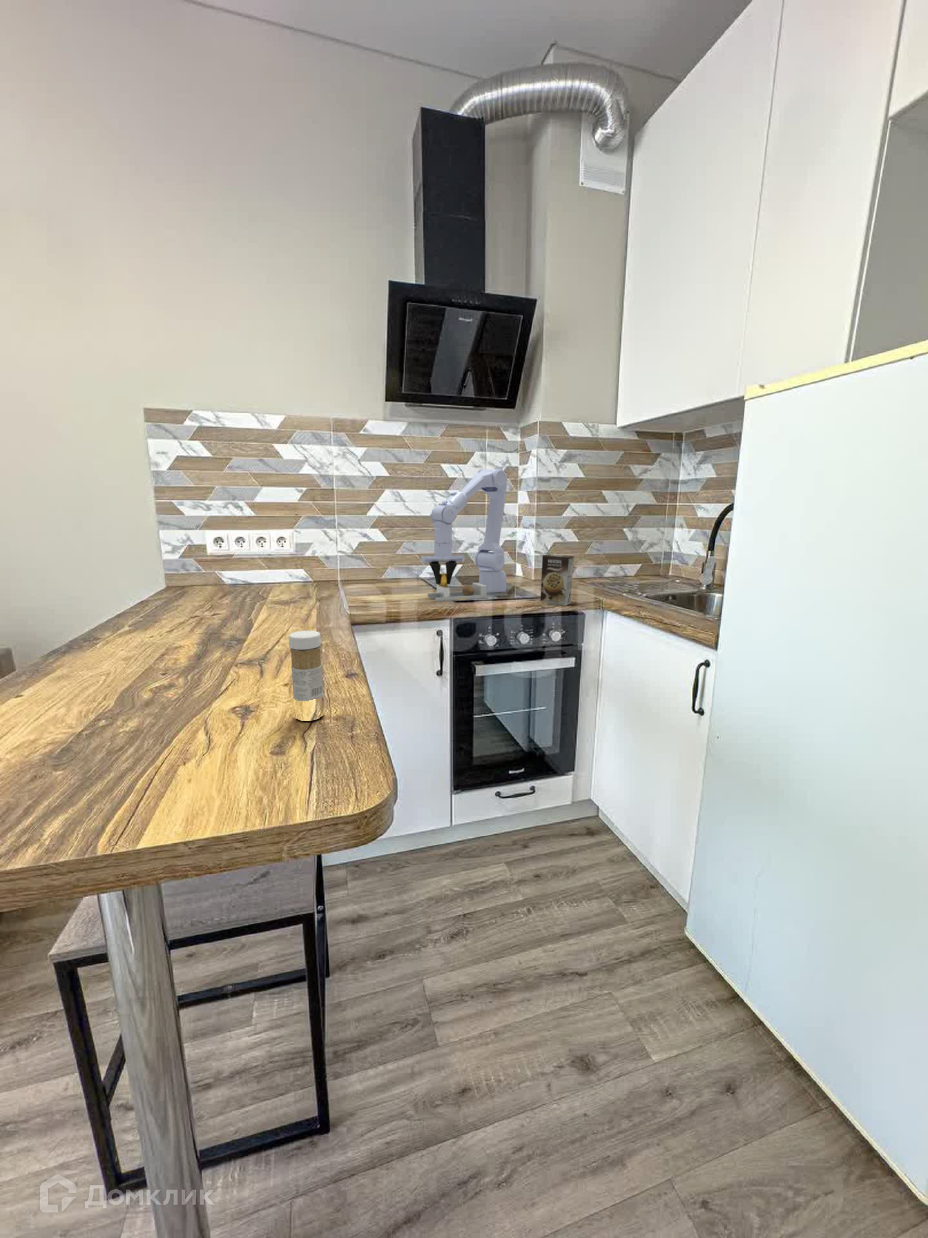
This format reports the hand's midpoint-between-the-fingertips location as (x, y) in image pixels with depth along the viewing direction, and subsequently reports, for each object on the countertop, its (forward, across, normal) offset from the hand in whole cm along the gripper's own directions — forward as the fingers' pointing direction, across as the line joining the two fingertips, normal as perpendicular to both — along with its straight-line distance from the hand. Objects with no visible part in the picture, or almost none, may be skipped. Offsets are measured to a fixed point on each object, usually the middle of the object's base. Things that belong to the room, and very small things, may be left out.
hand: (443, 583), depth 175 cm
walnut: (+5, +9, 0) cm, 10 cm away
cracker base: (+6, +5, 0) cm, 8 cm away
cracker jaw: (+4, 0, 0) cm, 4 cm away
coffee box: (+6, +36, -13) cm, 38 cm away
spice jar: (+6, -50, -85) cm, 99 cm away
